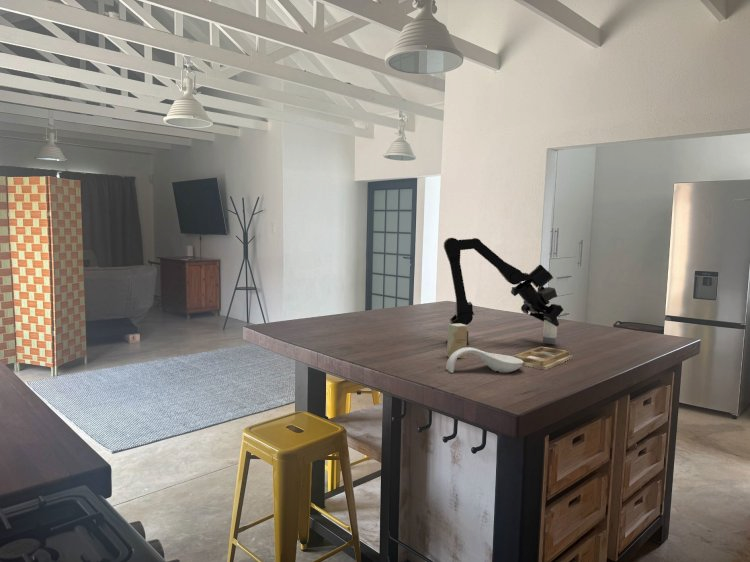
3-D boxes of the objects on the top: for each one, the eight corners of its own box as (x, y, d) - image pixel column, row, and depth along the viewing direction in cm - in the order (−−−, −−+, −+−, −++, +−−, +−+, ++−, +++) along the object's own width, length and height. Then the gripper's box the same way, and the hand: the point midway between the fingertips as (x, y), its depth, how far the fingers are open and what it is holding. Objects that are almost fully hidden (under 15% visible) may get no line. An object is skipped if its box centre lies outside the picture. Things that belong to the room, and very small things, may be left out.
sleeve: (547, 343, 196) (550, 311, 195) (540, 340, 200) (542, 309, 199) (558, 342, 197) (560, 311, 196) (550, 340, 202) (552, 309, 201)
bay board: (504, 361, 172) (504, 354, 172) (533, 351, 187) (533, 344, 187) (545, 370, 162) (546, 362, 162) (572, 358, 178) (572, 351, 178)
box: (453, 359, 173) (455, 326, 172) (446, 356, 177) (447, 323, 176) (466, 358, 175) (468, 325, 174) (459, 355, 179) (460, 322, 178)
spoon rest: (511, 364, 169) (512, 342, 168) (530, 375, 158) (531, 351, 157) (441, 367, 164) (442, 344, 163) (455, 378, 152) (456, 353, 152)
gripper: (560, 283, 186) (584, 313, 191) (529, 277, 204) (551, 305, 209) (540, 305, 185) (564, 335, 189) (510, 298, 202) (533, 325, 207)
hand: (553, 324), depth 199 cm, fingers closed on sleeve, 5 cm apart
